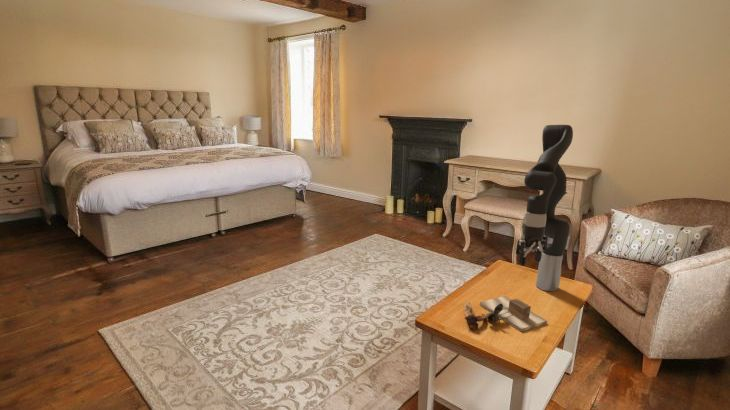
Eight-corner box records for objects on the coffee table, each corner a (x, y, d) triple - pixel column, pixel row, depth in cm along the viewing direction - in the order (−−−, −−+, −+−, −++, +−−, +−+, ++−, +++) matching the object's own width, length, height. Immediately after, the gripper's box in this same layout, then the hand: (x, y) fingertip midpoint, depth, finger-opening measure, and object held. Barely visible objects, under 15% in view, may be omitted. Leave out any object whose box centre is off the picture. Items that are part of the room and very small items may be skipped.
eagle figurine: (509, 325, 149) (507, 310, 157) (500, 311, 147) (498, 296, 155) (490, 331, 152) (489, 316, 160) (481, 318, 150) (480, 303, 158)
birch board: (504, 298, 172) (504, 295, 172) (546, 323, 154) (547, 320, 153) (479, 304, 166) (479, 302, 166) (521, 331, 147) (521, 328, 147)
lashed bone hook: (490, 334, 146) (482, 308, 164) (492, 323, 145) (483, 298, 162) (464, 331, 147) (459, 306, 164) (466, 320, 146) (460, 296, 163)
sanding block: (515, 309, 161) (516, 298, 160) (529, 317, 155) (530, 306, 153) (508, 311, 159) (509, 300, 158) (521, 320, 153) (523, 308, 152)
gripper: (539, 218, 155) (534, 256, 160) (513, 223, 149) (509, 262, 153) (556, 223, 149) (550, 263, 153) (529, 228, 143) (524, 270, 147)
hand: (529, 263), depth 153 cm, fingers open, 8 cm apart
